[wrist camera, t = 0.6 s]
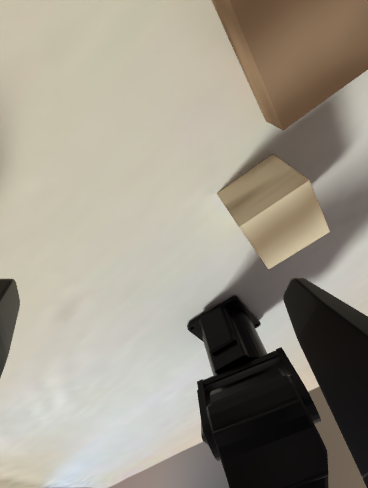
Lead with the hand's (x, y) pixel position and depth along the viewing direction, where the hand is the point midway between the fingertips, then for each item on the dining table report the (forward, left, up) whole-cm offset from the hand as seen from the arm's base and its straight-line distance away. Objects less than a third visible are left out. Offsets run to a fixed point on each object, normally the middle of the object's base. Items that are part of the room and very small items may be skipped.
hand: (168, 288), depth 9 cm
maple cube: (-8, -5, -13) cm, 16 cm away
